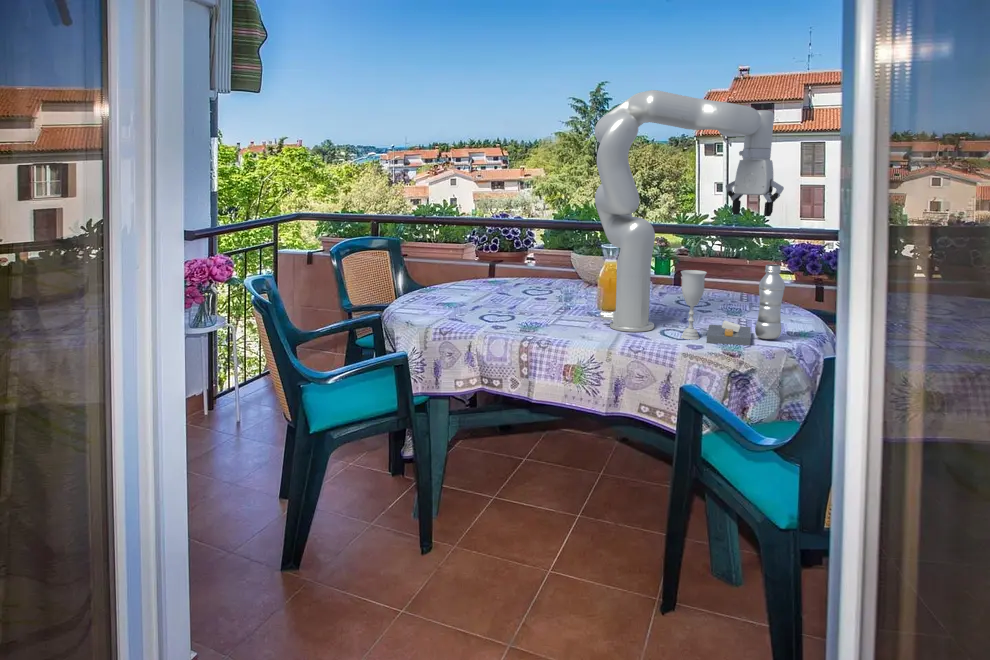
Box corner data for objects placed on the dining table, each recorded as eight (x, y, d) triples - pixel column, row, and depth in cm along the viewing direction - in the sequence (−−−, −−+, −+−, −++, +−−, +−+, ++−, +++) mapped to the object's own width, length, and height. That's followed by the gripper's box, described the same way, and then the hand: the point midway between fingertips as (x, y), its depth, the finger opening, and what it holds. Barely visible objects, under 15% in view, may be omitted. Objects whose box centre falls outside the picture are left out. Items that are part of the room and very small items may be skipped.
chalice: (708, 339, 205) (711, 273, 201) (684, 341, 204) (688, 274, 200) (695, 333, 212) (699, 269, 208) (673, 335, 211) (675, 270, 207)
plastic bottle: (759, 335, 210) (764, 263, 206) (784, 338, 206) (790, 265, 201) (750, 339, 205) (755, 265, 201) (776, 343, 201) (781, 267, 196)
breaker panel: (706, 342, 202) (707, 330, 201) (709, 331, 215) (709, 320, 214) (750, 345, 198) (751, 333, 198) (750, 333, 211) (750, 322, 211)
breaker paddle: (721, 327, 205) (723, 322, 205) (722, 324, 208) (723, 320, 207) (738, 332, 204) (739, 327, 203) (738, 329, 207) (739, 325, 206)
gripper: (722, 154, 222) (718, 214, 226) (780, 154, 210) (774, 217, 214) (735, 155, 227) (730, 213, 231) (791, 155, 215) (785, 216, 219)
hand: (751, 215), depth 222 cm, fingers open, 9 cm apart
